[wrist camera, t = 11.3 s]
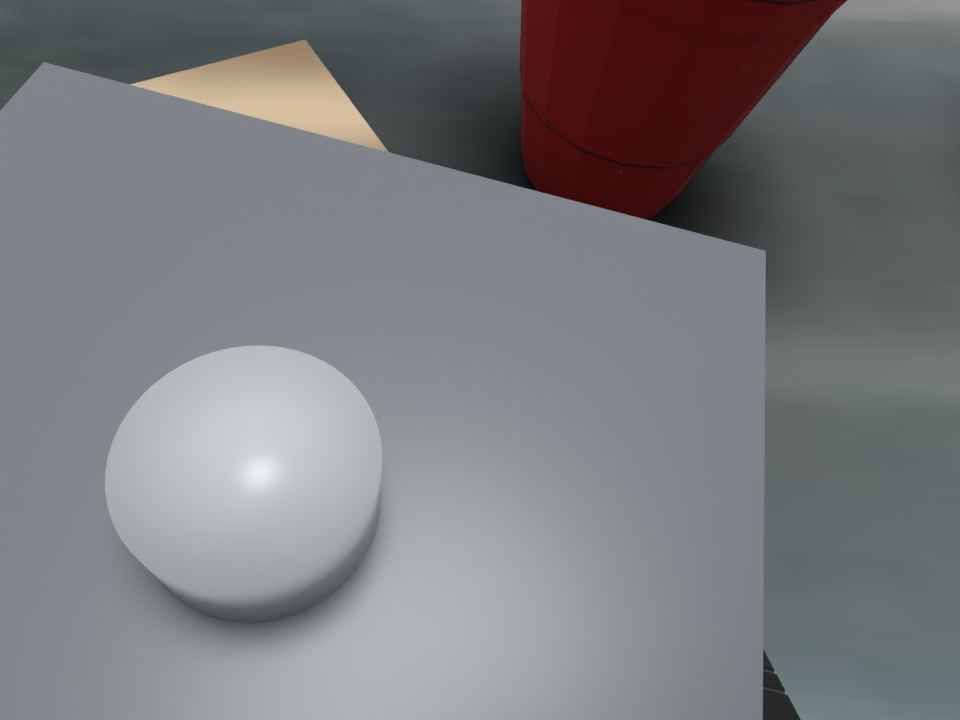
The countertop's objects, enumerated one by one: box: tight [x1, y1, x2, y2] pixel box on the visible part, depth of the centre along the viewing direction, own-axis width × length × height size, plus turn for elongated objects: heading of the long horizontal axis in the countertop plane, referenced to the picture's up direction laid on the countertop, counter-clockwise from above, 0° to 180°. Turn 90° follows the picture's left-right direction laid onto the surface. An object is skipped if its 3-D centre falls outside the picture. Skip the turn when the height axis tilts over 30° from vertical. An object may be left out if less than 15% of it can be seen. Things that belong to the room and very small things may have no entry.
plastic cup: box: [520, 0, 847, 219], centre depth 21 cm, size 11×11×12 cm
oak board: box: [130, 40, 388, 152], centre depth 21 cm, size 12×12×1 cm
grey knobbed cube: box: [0, 62, 766, 720], centre depth 10 cm, size 9×9×11 cm
